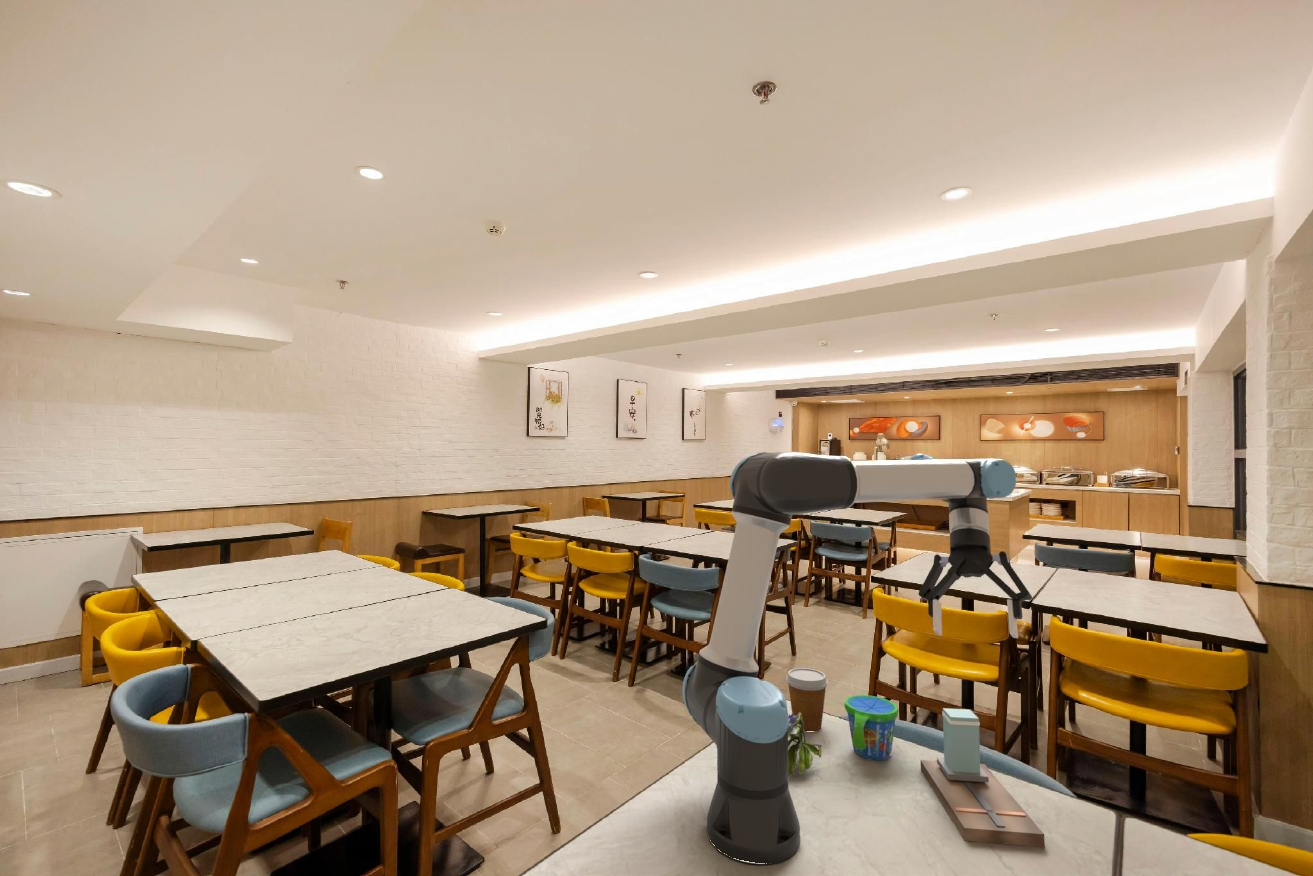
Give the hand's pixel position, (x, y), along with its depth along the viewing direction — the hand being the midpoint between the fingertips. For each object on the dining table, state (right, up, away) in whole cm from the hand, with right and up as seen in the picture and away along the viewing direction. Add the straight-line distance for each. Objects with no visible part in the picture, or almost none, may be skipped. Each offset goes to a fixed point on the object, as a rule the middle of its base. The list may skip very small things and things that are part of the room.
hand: (974, 634), depth 112 cm
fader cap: (-4, -25, -3) cm, 26 cm away
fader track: (-5, -27, -9) cm, 29 cm away
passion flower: (-34, -29, +6) cm, 45 cm away
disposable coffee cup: (-27, -29, +22) cm, 45 cm away
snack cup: (-16, -29, +10) cm, 34 cm away
